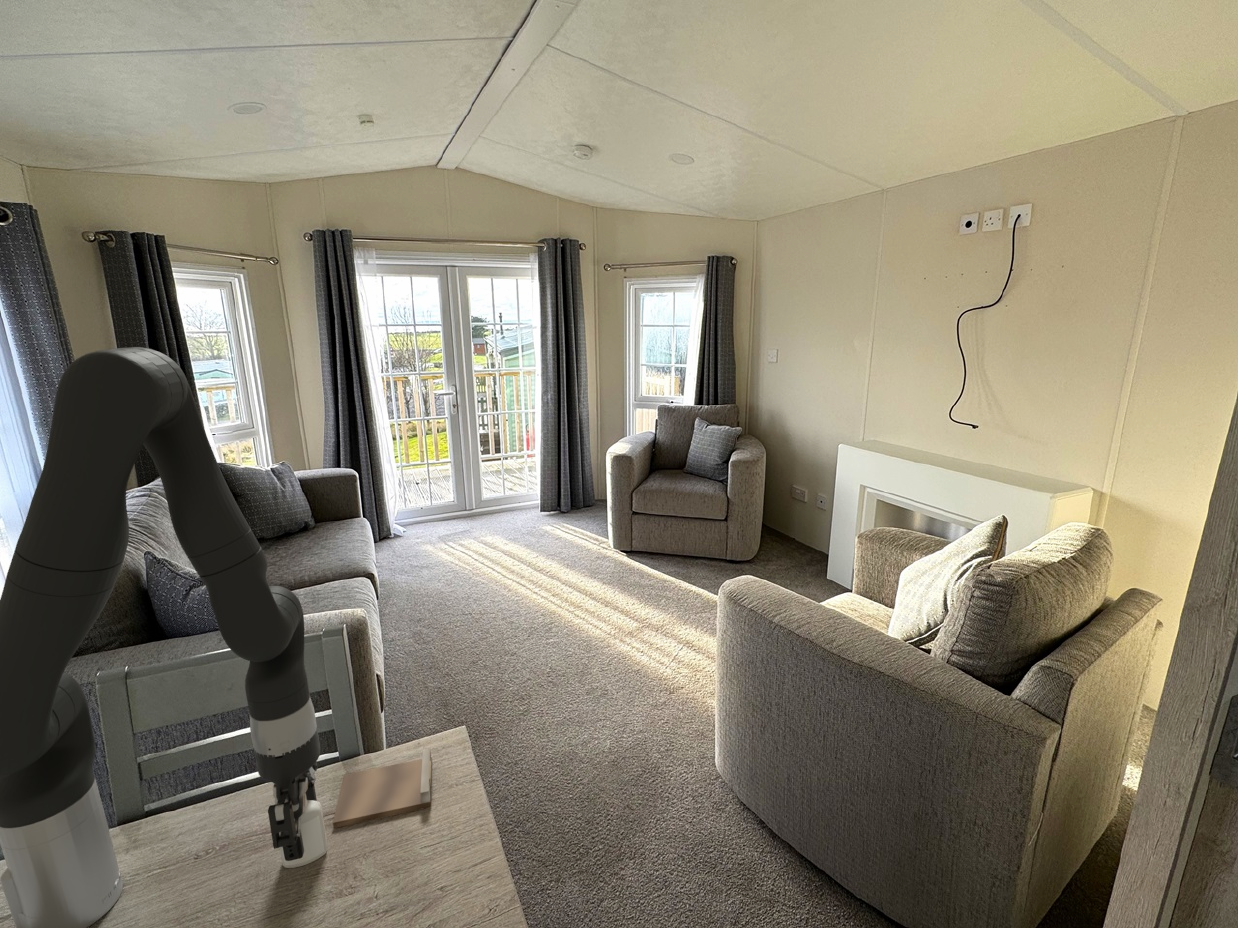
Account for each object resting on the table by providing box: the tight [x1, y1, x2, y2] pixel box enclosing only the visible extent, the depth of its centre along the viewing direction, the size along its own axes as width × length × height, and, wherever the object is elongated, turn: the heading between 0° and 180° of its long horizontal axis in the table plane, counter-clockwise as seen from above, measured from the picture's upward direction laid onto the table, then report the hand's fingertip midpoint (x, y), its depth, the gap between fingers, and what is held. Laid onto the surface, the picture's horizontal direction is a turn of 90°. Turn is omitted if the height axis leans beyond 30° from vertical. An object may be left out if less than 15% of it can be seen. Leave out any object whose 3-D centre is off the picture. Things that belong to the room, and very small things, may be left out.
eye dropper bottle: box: [279, 797, 328, 869], centre depth 83 cm, size 4×6×12 cm
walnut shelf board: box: [332, 747, 433, 829], centre depth 95 cm, size 14×10×3 cm
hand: (302, 831), depth 83 cm, fingers open, 8 cm apart
